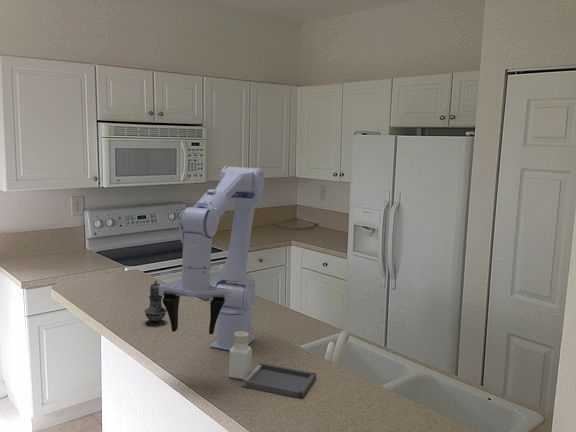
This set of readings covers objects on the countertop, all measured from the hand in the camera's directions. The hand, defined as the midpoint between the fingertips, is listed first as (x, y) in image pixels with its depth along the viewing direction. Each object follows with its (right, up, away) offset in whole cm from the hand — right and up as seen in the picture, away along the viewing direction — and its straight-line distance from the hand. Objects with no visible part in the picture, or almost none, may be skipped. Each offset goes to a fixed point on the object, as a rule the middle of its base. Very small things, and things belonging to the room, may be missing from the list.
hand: (193, 331), depth 110 cm
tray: (+18, -12, +3) cm, 21 cm away
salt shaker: (-17, -6, +35) cm, 39 cm away
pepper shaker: (+9, -11, +6) cm, 15 cm away
